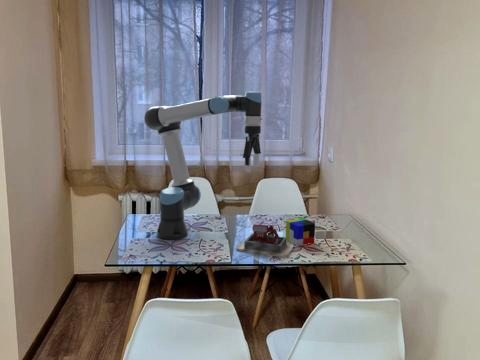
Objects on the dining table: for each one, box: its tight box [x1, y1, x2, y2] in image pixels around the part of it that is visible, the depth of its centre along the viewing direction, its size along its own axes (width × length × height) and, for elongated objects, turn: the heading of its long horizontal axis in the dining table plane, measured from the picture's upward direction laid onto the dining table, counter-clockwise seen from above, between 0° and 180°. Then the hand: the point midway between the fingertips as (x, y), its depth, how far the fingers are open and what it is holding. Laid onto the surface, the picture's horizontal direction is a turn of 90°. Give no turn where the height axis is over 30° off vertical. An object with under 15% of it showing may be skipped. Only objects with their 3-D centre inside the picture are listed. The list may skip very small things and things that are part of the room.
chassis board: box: [235, 232, 295, 258], centre depth 207 cm, size 24×14×4 cm, turn 71°
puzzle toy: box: [285, 217, 316, 247], centre depth 217 cm, size 10×10×10 cm
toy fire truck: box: [252, 224, 280, 245], centre depth 206 cm, size 7×12×10 cm, turn 81°
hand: (251, 169), depth 214 cm, fingers open, 13 cm apart
